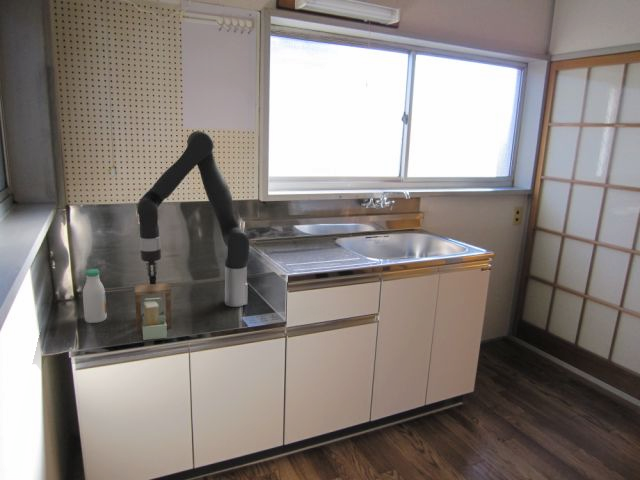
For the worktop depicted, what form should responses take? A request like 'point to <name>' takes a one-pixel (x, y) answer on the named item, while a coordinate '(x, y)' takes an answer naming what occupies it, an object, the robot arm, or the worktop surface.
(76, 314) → the worktop surface
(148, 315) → the skincare box
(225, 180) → the robot arm
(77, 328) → the worktop surface
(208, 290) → the worktop surface
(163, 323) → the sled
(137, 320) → the tunnel
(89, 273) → the milk bottle
